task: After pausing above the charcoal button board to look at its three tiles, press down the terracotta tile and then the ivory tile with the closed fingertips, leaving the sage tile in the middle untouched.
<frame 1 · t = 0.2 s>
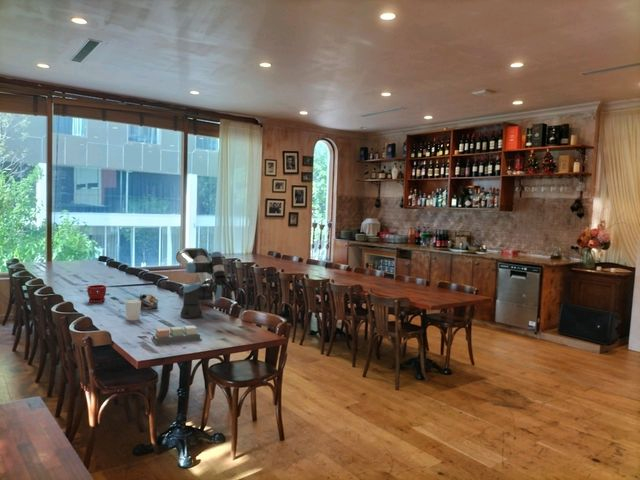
hand: (224, 301, 324), 16 cm above the table, tool tilted 35°, fingers open, 13 cm apart
ivory tile: (190, 330, 289), point 5 cm above the table, slide at 0.0 cm
terracotta tile: (162, 332, 280), point 5 cm above the table, slide at 0.0 cm
plant pot: (96, 301, 377), on the table
candle holder: (133, 319, 328), on the table
button board: (176, 339, 285), on the table
mottled brown lump: (148, 308, 362), on the table
sage tile: (176, 331, 284), point 5 cm above the table, slide at 0.0 cm
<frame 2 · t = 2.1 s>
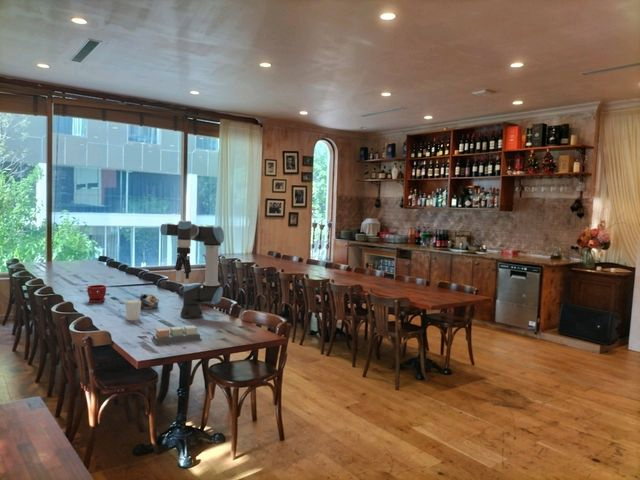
hand: (182, 282, 288), 33 cm above the table, tool pointing down, fingers open, 13 cm apart
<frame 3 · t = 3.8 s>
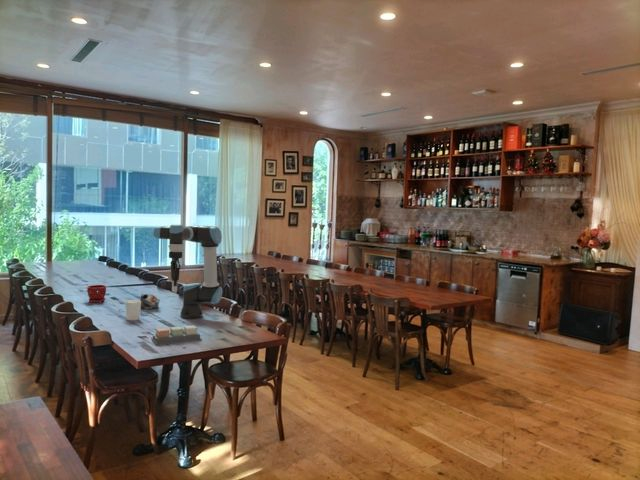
hand: (174, 291, 285), 28 cm above the table, tool pointing down, fingers closed
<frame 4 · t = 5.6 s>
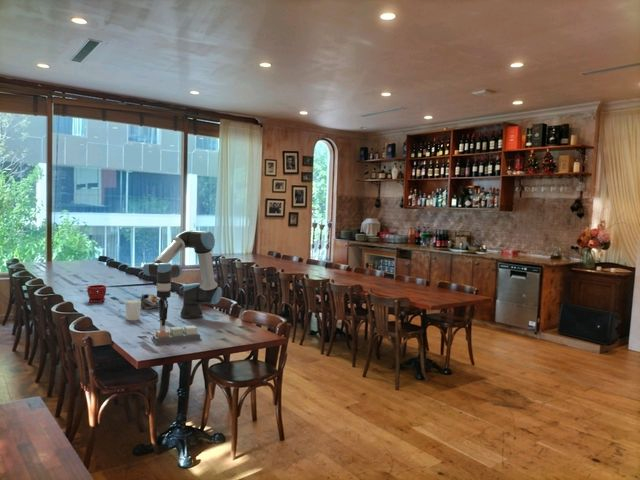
hand: (162, 330, 280), 6 cm above the table, tool pointing down, fingers closed
terracotta tile: (162, 334, 280), point 4 cm above the table, slide at -1.1 cm, touching gripper
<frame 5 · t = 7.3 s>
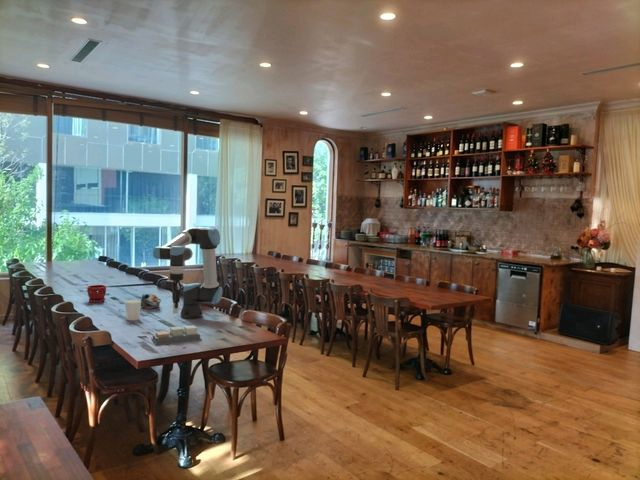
hand: (175, 313, 283), 16 cm above the table, tool pointing down, fingers closed
terracotta tile: (162, 336, 281), point 3 cm above the table, slide at -2.1 cm
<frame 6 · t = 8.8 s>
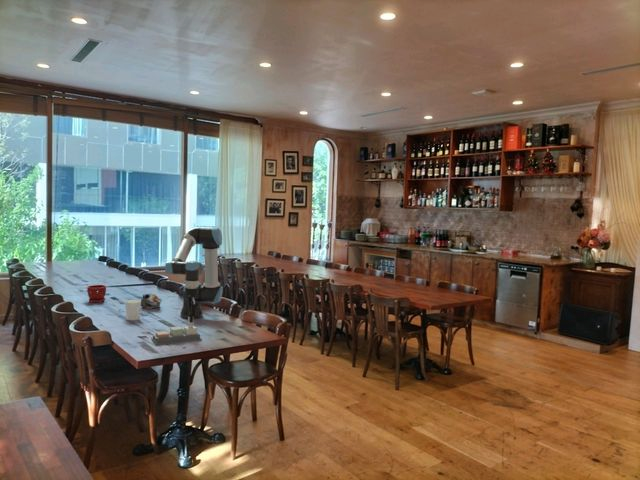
hand: (190, 327, 288), 7 cm above the table, tool pointing down, fingers closed
ivory tile: (190, 330, 289), point 5 cm above the table, slide at -0.3 cm, touching gripper
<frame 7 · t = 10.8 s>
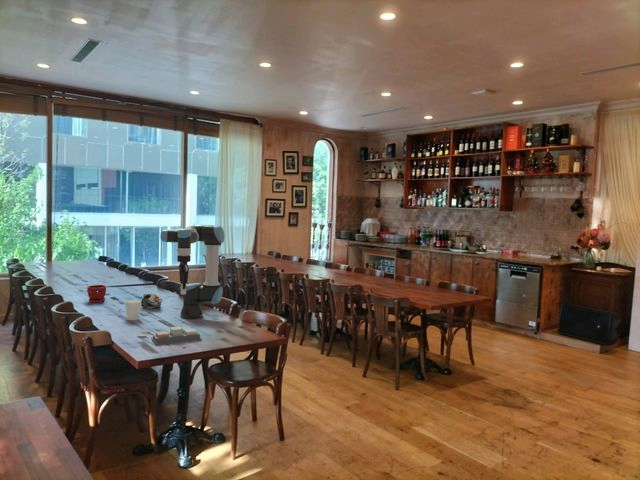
hand: (183, 294, 292), 25 cm above the table, tool pointing down, fingers closed
ivory tile: (190, 333, 289), point 3 cm above the table, slide at -2.1 cm
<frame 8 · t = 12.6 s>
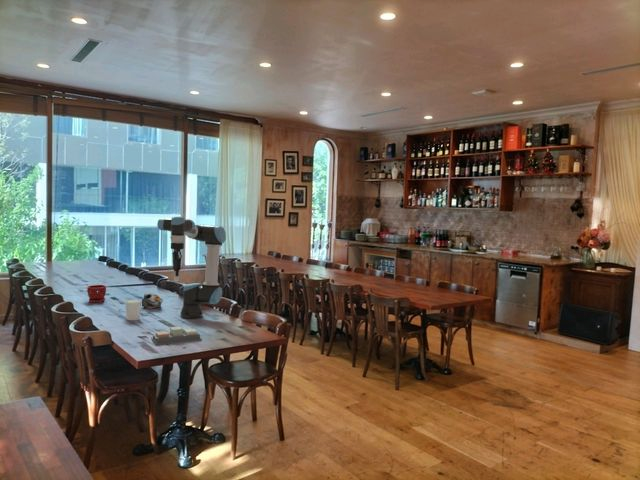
hand: (176, 281, 294), 32 cm above the table, tool pointing down, fingers closed
at the end: terracotta tile slide at -2.1 cm; ivory tile slide at -2.1 cm; sage tile slide at 0.0 cm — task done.
